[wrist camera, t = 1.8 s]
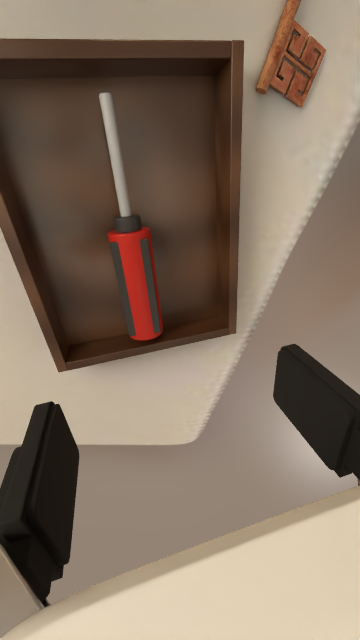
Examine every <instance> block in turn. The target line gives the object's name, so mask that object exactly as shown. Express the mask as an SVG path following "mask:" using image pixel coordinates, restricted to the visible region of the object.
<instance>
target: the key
mask: <svg viewBox="0 0 360 640" xmlns="http://www.w3.org/2000/svg"><path fill="white" fill-rule="evenodd" d="M300 1H301V0H288V1H287V4H286V7H285V9H284V12H283V15H282V18H281V21H280V23H279V26H278V29H277V32H276V35H275V37H274V40H273V43H272V46H271V49H270V51H269V54H268V57H267V60H266V63H265V65H264V68H263V71H262V74H261V77H260V79H259V82H258V85H257V88H256V91H257V92H259V93H261V94H266V93H267V90H268V87H269V85H270V86H272V87H273V88H274V89H276V90H277V91H278V92H280V93H281V94H282V95H284V94H285V93H286V90H287V88H288V85H289V82H290V80H291V77H292V75H293V72H294V70H295V68H294V67H293V66H291V65H290V64H289V63H288V62H287V61H283V62H282V65H281V68H280V70H279V73H278V75H279V76H280V77H281V78H282V80H280V79H279V78H278V77H276V74H277V72H278V69H279V66H280V64H281V61H282V58H283V57H285V58H286V59H287V60H288V61H289V62H291V63H292V64H293V65H294V66H295V67H297V68H298V69H299V70H300V71H301V72H303V73H304V74H305V75H306V76H307V77H309V80H308V79H307V78H306V77H305V76H304V75H302V74H301V73H300V72H299V71H295V72H294V75H293V78H292V80H291V83H290V85H289V88H288V90H287V93H286V95H285V97H286V98H288V99H289V100H291V101H292V102H293V103H295V104H296V105H297V106H299V107H302V106H303V104H304V102H305V99H306V97H307V95H308V92H309V90H310V87H311V85H312V83H313V80H314V78H315V76H316V73H317V71H318V68H319V66H320V64H321V61H322V59H323V57H324V54H325V52H326V49H325V48H324V47H323V46H321V45H320V44H319V43H318V42H317V41H316V40H315V39H314V38H313V37H312V36H309V37H308V34H309V33H308V32H307V31H306V30H304V29H303V28H302V27H301V26H300V25H299V24H298V23H297V22H296V21H295V20H294V17H295V15H296V12H297V9H298V6H299V4H300ZM293 31H294V32H295V33H296V34H298V35H299V36H298V37H297V36H296V35H295V34H294V35H293V36H292V39H291V41H290V44H289V47H288V49H287V51H289V52H290V53H291V54H292V55H293V56H294V57H296V58H297V59H298V58H299V57H300V55H301V52H302V49H303V47H304V44H305V42H306V39H307V37H308V40H307V42H306V45H305V47H304V50H303V52H302V55H301V57H300V60H299V61H300V62H301V63H303V64H304V65H305V66H306V67H307V68H308V69H310V70H311V69H312V68H313V66H314V64H315V66H314V68H313V70H312V73H311V72H309V71H308V70H307V69H306V68H305V67H304V66H302V65H301V64H300V63H299V62H298V61H296V60H295V59H294V58H293V57H292V56H291V55H289V54H288V53H287V52H286V48H287V46H288V43H289V40H290V38H291V35H292V32H293ZM314 50H315V51H316V52H317V53H318V54H319V56H318V55H317V54H316V53H315V52H314ZM317 56H318V58H317ZM316 59H317V61H316ZM315 61H316V63H315ZM307 80H308V82H307ZM306 83H307V85H306ZM305 85H306V87H305ZM304 88H305V90H304ZM303 90H304V92H303ZM297 91H299V92H300V93H301V92H303V94H302V96H301V95H300V94H299V93H297Z"/></svg>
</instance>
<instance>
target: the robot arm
mask: <svg viewBox="0 0 360 640" xmlns="http://www.w3.org/2000/svg"><path fill="white" fill-rule="evenodd" d="M273 397H274V400H275V402H276V404H277V405H278V406H279V407H280V409H281V410H282V411H283V412H284V414H285V415H286V416H287V417H288V419H289V420H290V421H291V422H292V424H293V425H294V426H295V427H296V429H297V430H298V431H299V432H300V433H301V435H302V436H303V437H304V438H305V440H306V441H307V442H308V443H309V445H310V446H311V447H312V448H313V450H314V451H315V452H316V453H317V455H318V456H319V457H320V458H321V460H322V461H323V462H324V463H325V465H326V466H327V467H328V468H329V469H331V470H334V471H335V472H336V473H337V475H338V476H339V477H343V476H345V475H349V474H351V473H352V472H353V473H354V475H355V476H356V477H357V478H358V486H357V487H354V488H351V489H348V490H345V491H343V492H340V493H337V494H335V495H332V496H329V497H326V498H323V499H321V500H318V501H315V502H312V503H310V504H307V505H304V506H301V507H299V508H296V509H293V510H291V511H288V512H285V513H282V514H280V515H277V516H275V517H272V518H269V519H266V520H264V521H261V522H258V523H256V524H253V525H250V526H248V527H245V528H242V529H239V530H237V531H234V532H232V533H229V534H226V535H223V536H221V537H218V538H216V539H213V540H210V541H207V542H205V543H202V544H199V545H197V546H194V547H192V548H189V549H186V550H184V551H181V552H178V553H176V554H173V555H170V556H168V557H165V558H162V559H160V560H157V561H155V562H152V563H149V564H147V565H144V566H141V567H139V568H136V569H133V570H131V571H129V572H126V573H123V574H121V575H118V576H116V577H114V578H111V579H108V580H106V581H104V582H101V583H99V584H96V585H93V586H91V587H88V588H86V589H83V590H81V591H79V592H77V593H75V594H72V595H70V596H68V597H66V598H64V599H62V600H60V601H57V602H55V603H53V604H50V603H49V601H48V600H47V598H46V597H47V596H48V595H49V593H50V587H51V582H52V581H54V580H57V579H60V578H62V576H63V566H64V565H65V564H67V563H68V562H69V559H70V550H71V540H72V529H73V519H74V507H75V497H76V487H77V476H78V465H79V451H78V448H77V445H76V443H75V440H74V438H73V436H72V433H71V431H70V428H69V426H68V424H67V421H66V419H65V416H64V414H63V412H62V409H61V407H60V405H59V404H56V405H55V404H54V403H53V402H47V403H43V404H39V405H36V406H35V407H34V410H33V413H32V416H31V419H30V422H29V425H28V428H27V431H26V435H25V438H24V441H23V444H22V446H21V447H18V448H16V449H15V450H14V452H13V454H12V456H11V459H10V462H9V465H8V468H7V470H6V474H5V476H4V479H3V482H2V485H1V488H0V640H360V395H359V394H358V393H356V392H355V391H354V390H353V389H351V388H350V387H349V386H348V385H346V384H345V383H344V382H343V381H342V380H340V379H339V378H338V377H337V376H335V375H334V374H333V373H331V372H330V371H329V370H328V369H326V368H325V367H324V366H323V365H321V364H320V363H319V362H318V361H317V360H315V359H314V358H313V357H312V356H310V355H309V354H308V353H307V352H305V351H304V350H303V349H301V348H300V347H299V346H298V345H296V344H292V345H288V346H284V347H282V348H281V350H280V351H279V352H278V358H277V366H276V375H275V384H274V393H273Z"/></svg>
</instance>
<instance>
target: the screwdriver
mask: <svg viewBox="0 0 360 640" xmlns="http://www.w3.org/2000/svg"><path fill="white" fill-rule="evenodd" d="M99 99H100V104H101V110H102V115H103V121H104V126H105V132H106V137H107V143H108V148H109V154H110V159H111V165H112V170H113V176H114V181H115V187H116V192H117V198H118V203H119V209H120V214H121V216H117V217H114V218H113V222H114V227H115V230H113V231H110V232H109V233H108V238H109V243H110V248H111V253H112V258H113V262H114V267H115V272H116V277H117V281H118V286H119V291H120V295H121V300H122V305H123V310H124V314H125V319H126V324H127V329H128V333H129V336H130V337H131V338H132V339H135V340H141V341H143V340H150V339H153V338H156V337H157V336H159V335H160V334H161V333H162V331H163V323H162V316H161V308H160V301H159V293H158V286H157V278H156V271H155V263H154V256H153V248H152V241H151V233H150V228H148V227H142V226H141V219H140V215H136V214H134V215H132V214H131V208H130V202H129V195H128V189H127V183H126V177H125V171H124V165H123V158H122V152H121V146H120V140H119V134H118V128H117V121H116V115H115V109H114V103H113V97H112V94H111V93H107V92H105V93H101V94H99Z"/></svg>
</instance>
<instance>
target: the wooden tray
mask: <svg viewBox="0 0 360 640" xmlns="http://www.w3.org/2000/svg"><path fill="white" fill-rule="evenodd" d="M243 61H244V41H243V40H232V41H214V40H99V39H0V227H1V230H2V232H3V235H4V237H5V240H6V242H7V245H8V247H9V250H10V252H11V255H12V257H13V260H14V262H15V265H16V267H17V270H18V272H19V275H20V277H21V280H22V282H23V285H24V287H25V290H26V292H27V295H28V297H29V300H30V302H31V305H32V307H33V310H34V312H35V315H36V317H37V320H38V322H39V325H40V327H41V330H42V332H43V335H44V337H45V340H46V342H47V345H48V347H49V350H50V352H51V354H52V357H53V359H54V362H55V364H56V367H57V369H58V372H63V371H67V370H72V369H77V368H81V367H86V366H90V365H95V364H99V363H104V362H108V361H113V360H117V359H122V358H126V357H131V356H135V355H140V354H144V353H149V352H153V351H158V350H162V349H167V348H171V347H176V346H180V345H185V344H189V343H194V342H198V341H203V340H207V339H212V338H216V337H221V336H225V335H230V334H234V333H236V318H237V281H238V245H239V208H240V171H241V134H242V98H243ZM105 92H107V93H111V94H112V97H113V103H114V109H115V115H116V121H117V128H118V134H119V140H120V146H121V152H122V158H123V165H124V171H125V177H126V183H127V189H128V195H129V202H130V208H131V214H132V215H134V214H136V215H140V219H141V226H142V227H148V228H150V233H151V241H152V248H153V256H154V263H155V271H156V278H157V286H158V293H159V301H160V308H161V316H162V323H163V331H162V333H161V334H160V335H159V336H157V337H156V338H153V339H150V340H143V341H141V340H135V339H132V338H131V337H130V336H129V333H128V329H127V324H126V319H125V314H124V310H123V305H122V300H121V295H120V291H119V286H118V281H117V277H116V272H115V267H114V262H113V258H112V253H111V248H110V243H109V238H108V233H109V232H110V231H113V230H115V227H114V222H113V218H114V217H117V216H121V214H120V209H119V203H118V198H117V192H116V187H115V181H114V176H113V170H112V165H111V159H110V154H109V148H108V143H107V137H106V132H105V126H104V121H103V115H102V110H101V104H100V99H99V94H101V93H105Z"/></svg>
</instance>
